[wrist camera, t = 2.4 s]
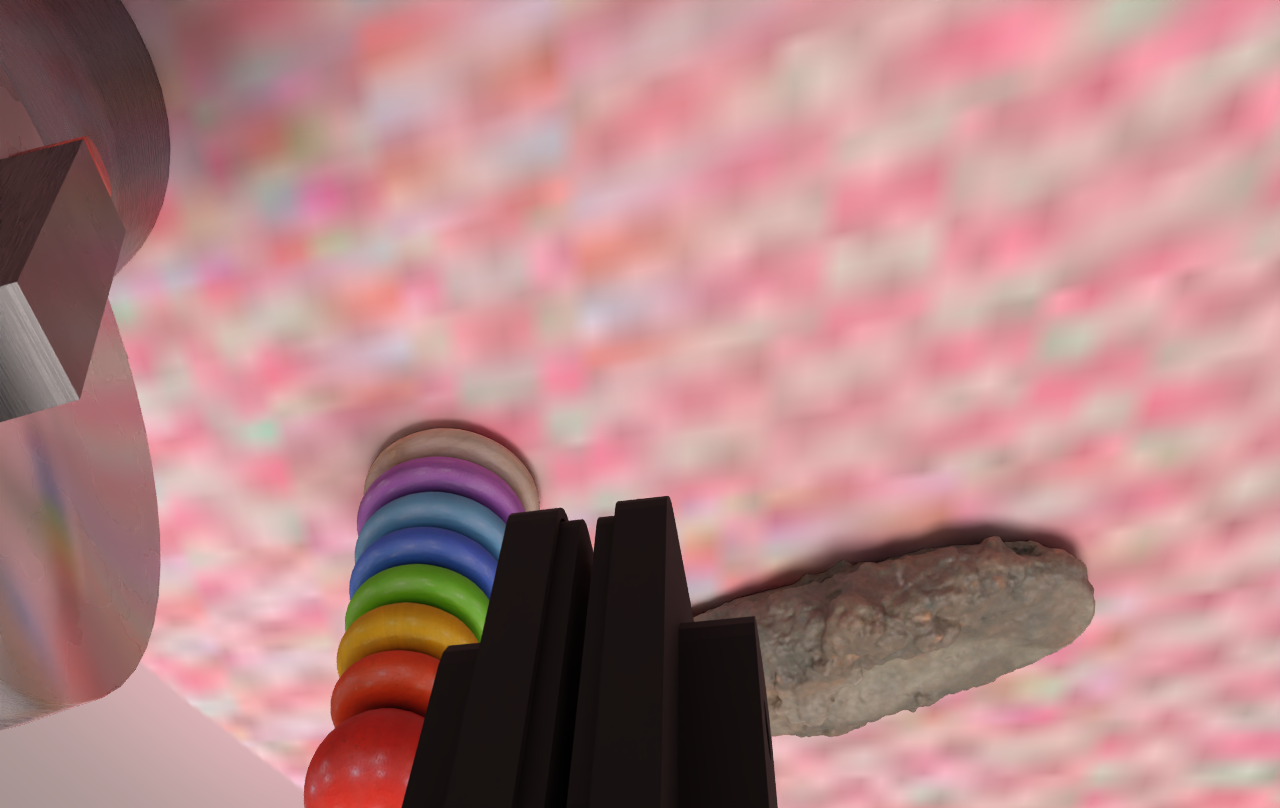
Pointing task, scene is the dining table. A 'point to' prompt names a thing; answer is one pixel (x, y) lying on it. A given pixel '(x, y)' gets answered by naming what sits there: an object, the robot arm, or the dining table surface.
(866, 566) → the elongated rock
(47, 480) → the cooker lid
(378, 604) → the stacking toy
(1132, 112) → the dining table surface
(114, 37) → the cooker pot
